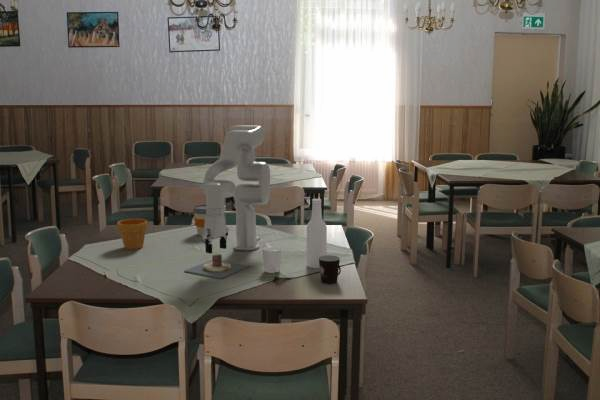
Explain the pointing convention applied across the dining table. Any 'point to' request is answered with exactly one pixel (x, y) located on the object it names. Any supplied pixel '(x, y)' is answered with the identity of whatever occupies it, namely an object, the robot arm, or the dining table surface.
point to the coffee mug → (329, 268)
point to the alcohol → (316, 236)
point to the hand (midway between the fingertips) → (216, 250)
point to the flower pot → (132, 232)
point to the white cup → (272, 259)
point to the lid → (217, 264)
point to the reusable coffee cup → (200, 218)
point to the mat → (219, 275)
